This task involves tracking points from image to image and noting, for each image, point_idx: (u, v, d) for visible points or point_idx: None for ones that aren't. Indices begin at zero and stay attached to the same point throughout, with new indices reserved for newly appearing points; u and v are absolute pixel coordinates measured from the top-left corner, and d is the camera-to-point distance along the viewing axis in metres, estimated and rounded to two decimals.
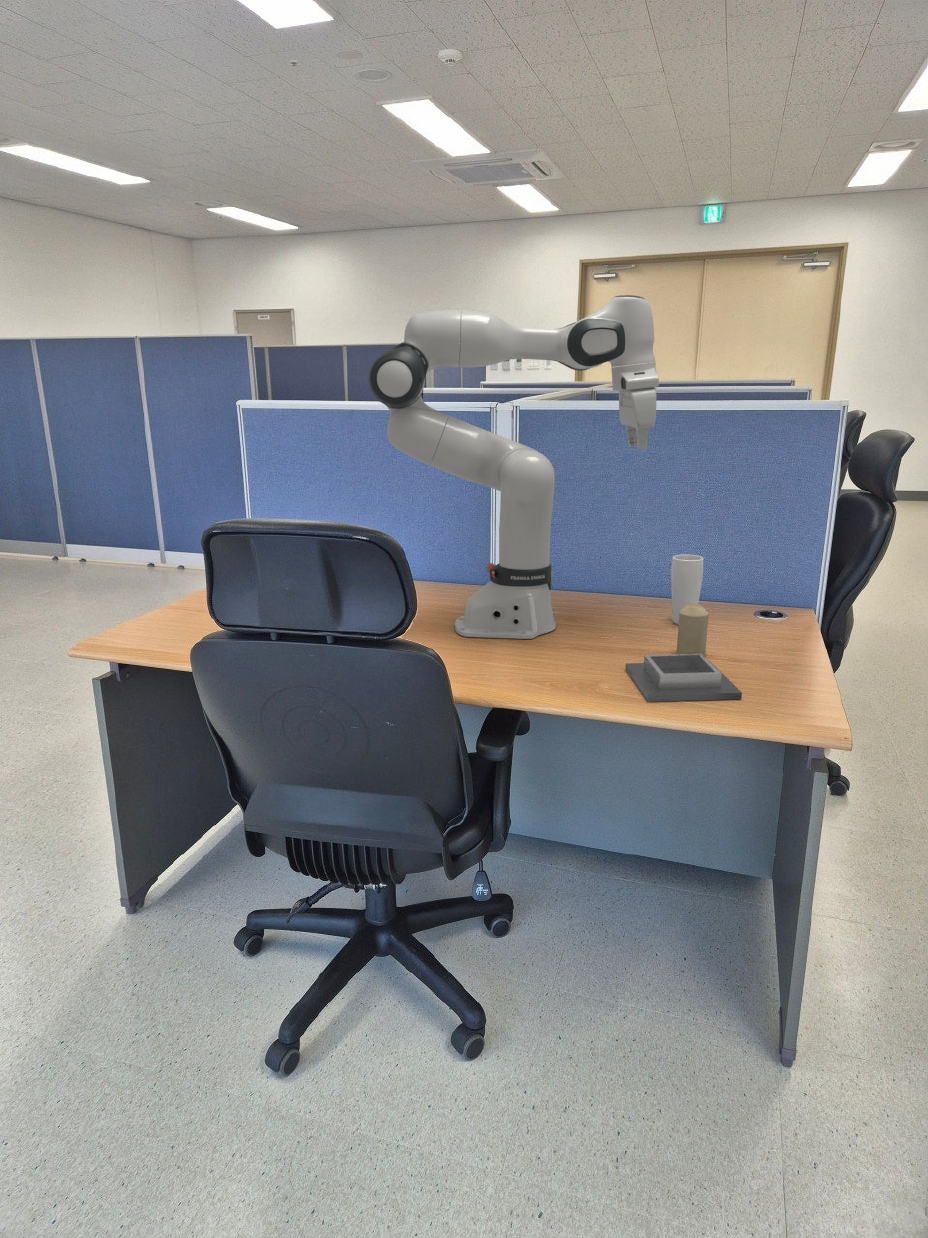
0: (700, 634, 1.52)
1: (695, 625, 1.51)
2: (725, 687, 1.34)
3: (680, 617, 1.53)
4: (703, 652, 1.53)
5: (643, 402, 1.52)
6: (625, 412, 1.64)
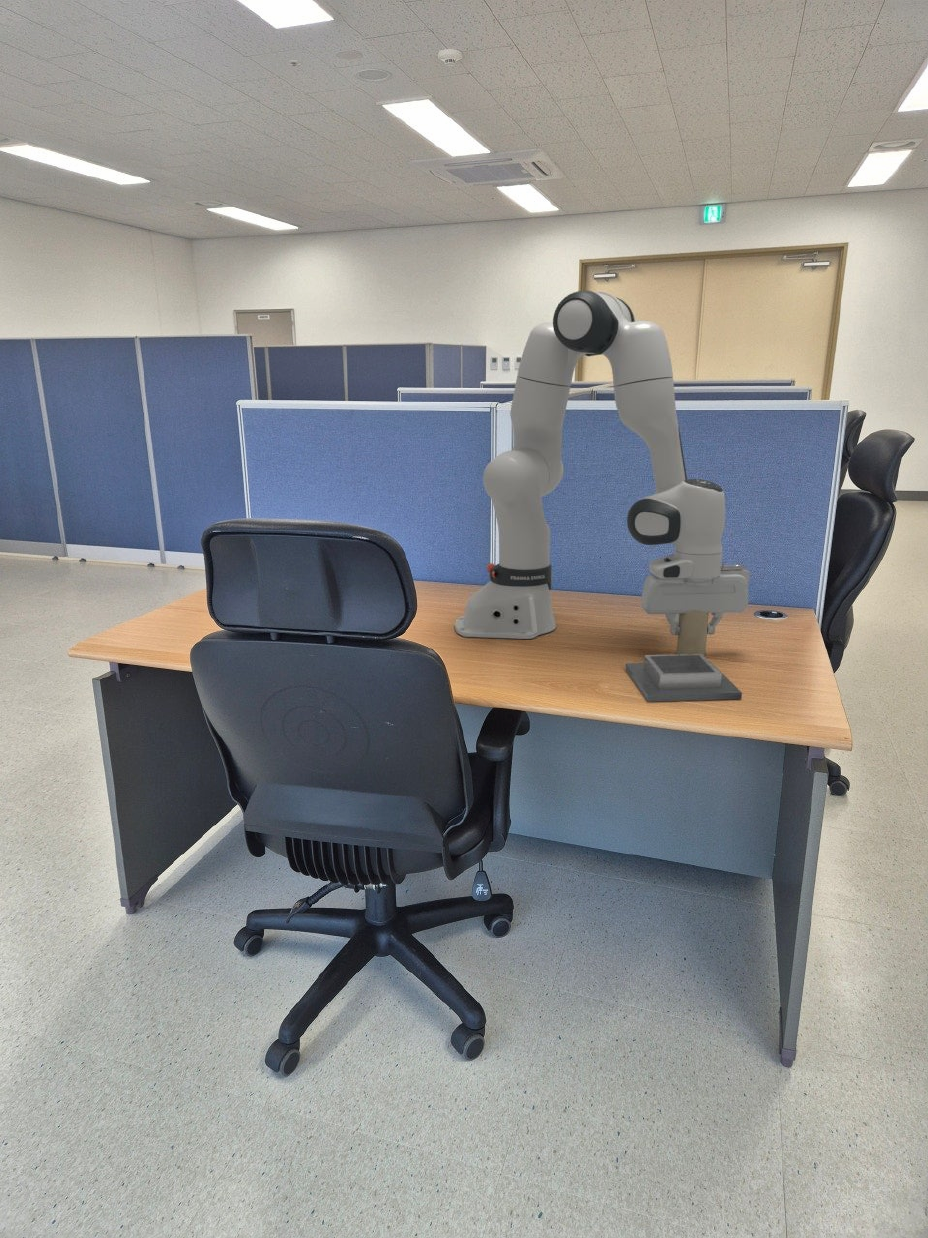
0: (700, 634, 1.52)
1: (695, 625, 1.51)
2: (725, 687, 1.34)
3: (680, 617, 1.53)
4: (703, 652, 1.53)
5: (645, 587, 1.52)
6: None
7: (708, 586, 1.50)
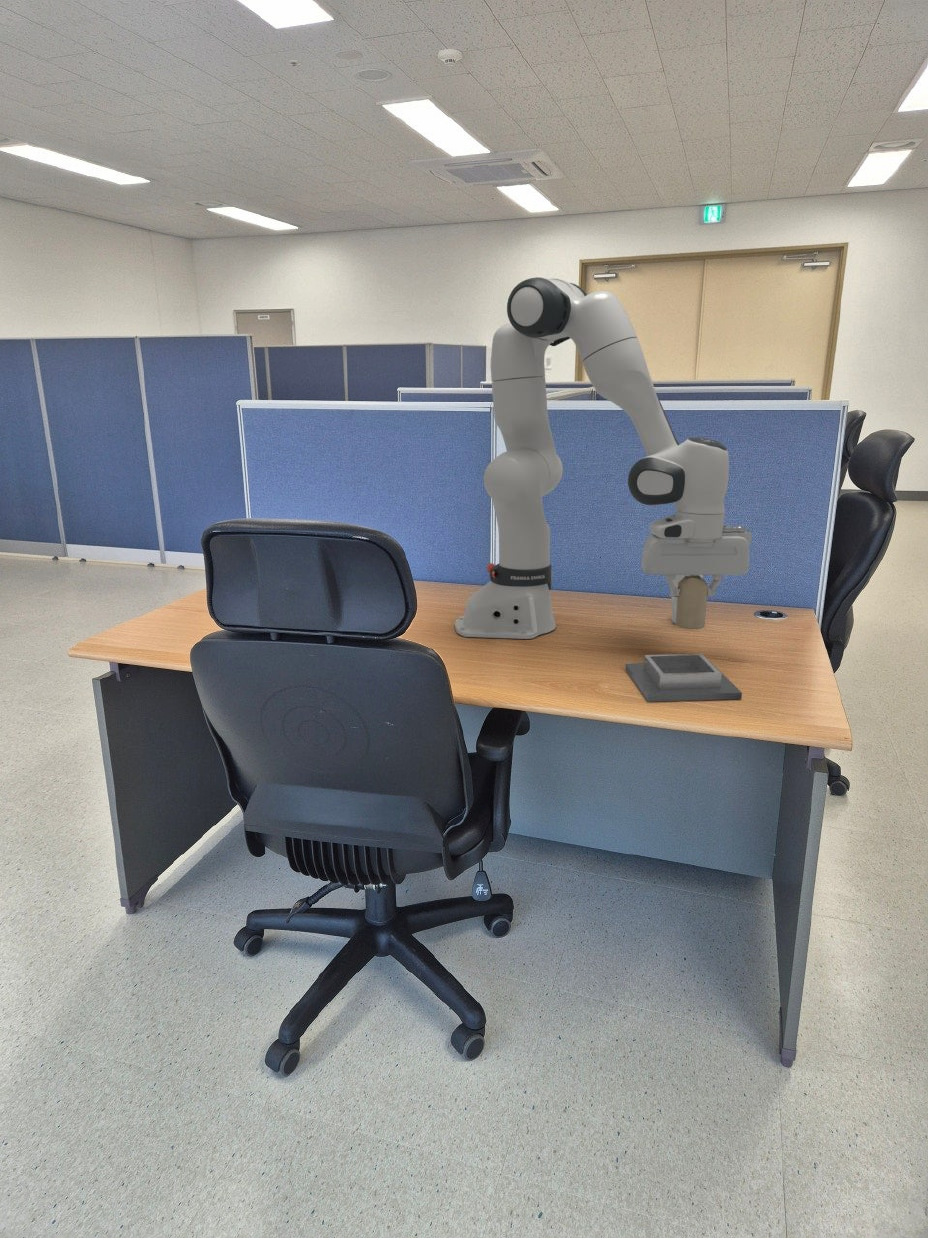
0: (699, 605, 1.50)
1: (694, 595, 1.50)
2: (725, 687, 1.34)
3: None
4: (702, 623, 1.52)
5: (646, 547, 1.50)
6: None
7: (709, 548, 1.48)
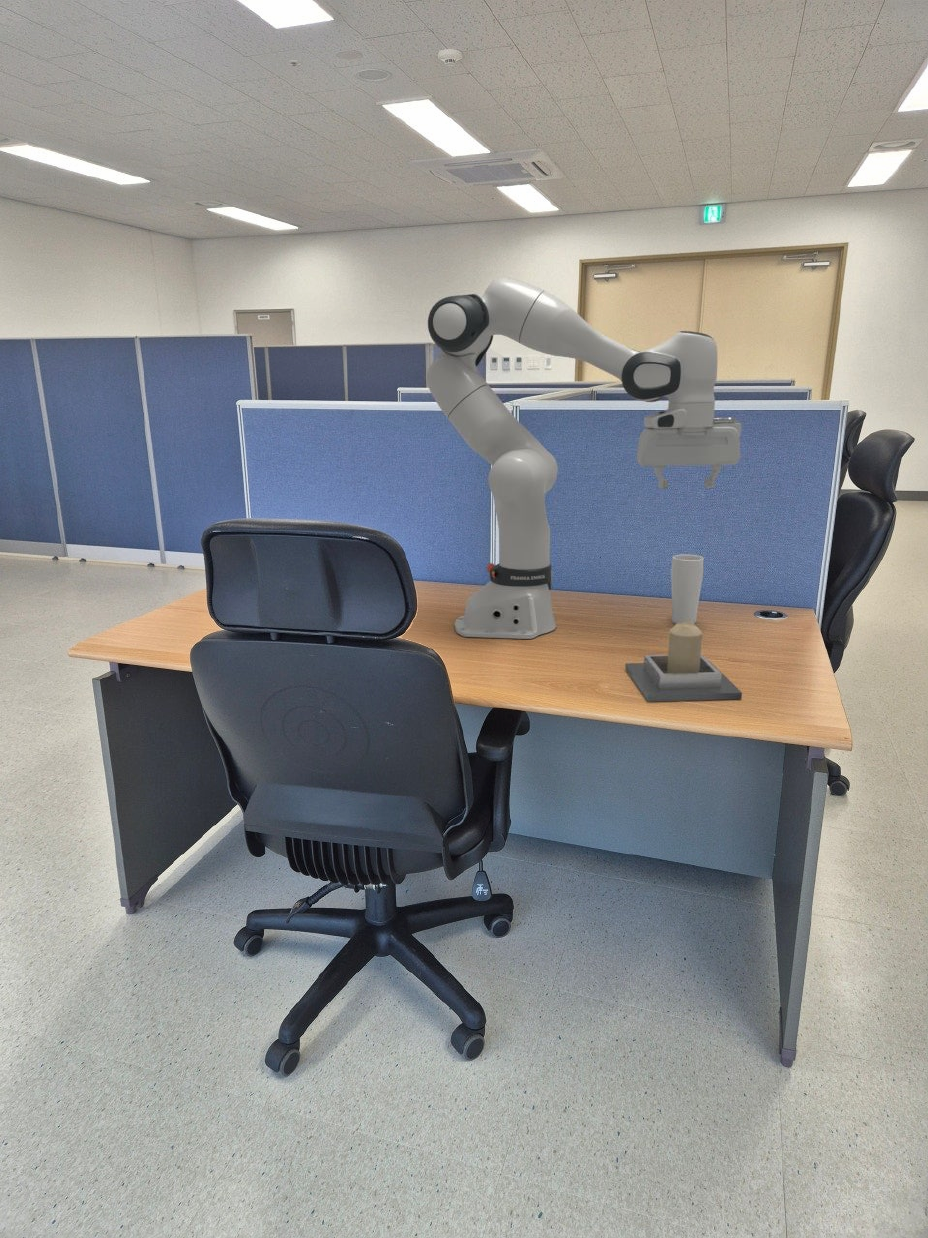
0: (693, 656, 1.36)
1: (687, 646, 1.35)
2: (725, 687, 1.34)
3: (670, 637, 1.37)
4: None
5: (640, 440, 1.56)
6: None
7: (701, 438, 1.55)
